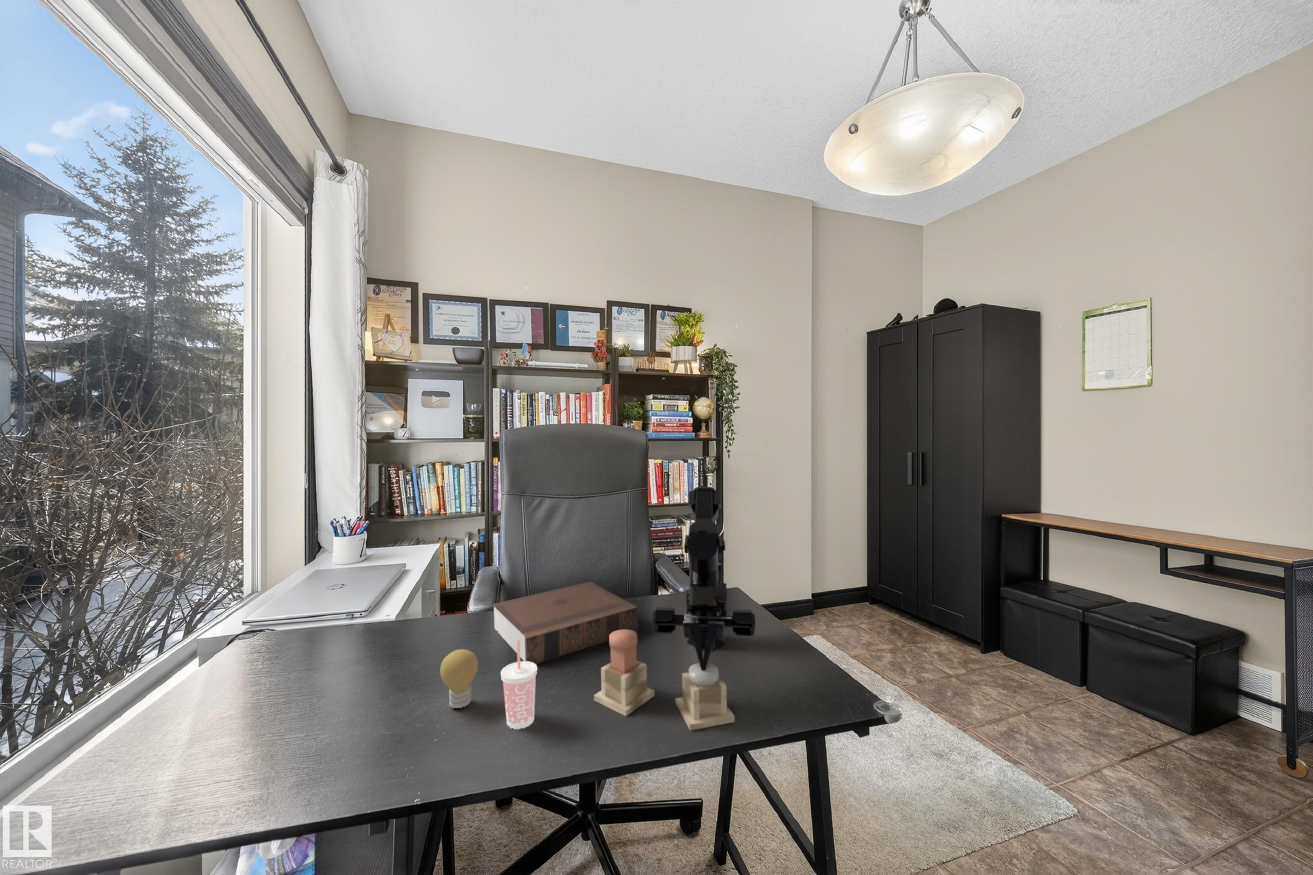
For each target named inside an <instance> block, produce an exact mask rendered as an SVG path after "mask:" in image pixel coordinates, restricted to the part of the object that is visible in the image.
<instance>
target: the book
mask: <svg viewBox="0 0 1313 875" xmlns="http://www.w3.org/2000/svg"><path fill="white" fill-rule="evenodd" d="M491 605H492V606H493V621H494V622H493V623H494V625H493V626H494V629H495V630H496V632H497V631H498V632H497V633H498V634H499V635H500V636H501V637H502V639H503V640H504V641H505V642H506V643H507V644H508V645H509V646H510V648H512V650H513V651H514V652H515V653H516V654H517V641H520V659H521V660H522V661H528V662H533V663H534V664H536V665H537V664H539V663H542V662H545V661H549V660H552V659H555V658H558V657H561V656H565V655H568V654H571V653H574V652H578V651H581V650H584V649H587V648H589V647H594V646H596V645H599V644H602V643H606V642H609V635H610V634H611V633H612V632H614V631H617V630H632V631H634V632H636V633H637V632H638V631H639V630H638V628H639V627H638V606H636V605H635V604H632V603H631V602H629V601H627V600H625V599H624V598H622V597H619V596H618V595H616V594H614V593H613V592H611V591H609V590H607V589H605V588H603V587H601V586H599V585H598V584H596V583H595V582H592V581H587V582H582V583H578V584H575V585H570V586H565V587H561V588H557V589H552V590H548V591H543V592H538V593H534V594H531V595H526V596H522V597H518V598H513V599H509V600H504V601H500V602H496V603H492V604H491Z"/></svg>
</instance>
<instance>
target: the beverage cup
mask: <svg viewBox="0 0 1313 875" xmlns="http://www.w3.org/2000/svg"><path fill="white" fill-rule="evenodd" d="M516 658H517V661H516V662H515V661H514V662H512V663H509V664H507V665H505V667H502V669H501V670H500V679H501V681H502V683H503V684H502V685H503V698H504V707H505V716H506V718H505V719H506V726H507V725H508V726H509V727H510V728H509V727H508V726H507V727H508V728H509V729H512V728H513V729H512V730H521V728H522V729H526V728H527V727H530V725H532V724H533V723H534V720H535V708H536V706H535V705H536V679H537V678H536V676H537V674H538V672H537V671H538V666H537V664H534V663H533V662H528V661H524V660H522V661H521V657H520V641H517V653H516Z"/></svg>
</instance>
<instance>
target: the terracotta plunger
mask: <svg viewBox="0 0 1313 875" xmlns="http://www.w3.org/2000/svg"><path fill="white" fill-rule="evenodd" d="M608 643H609V647H610V663H611V669H614V670H616V671H618V672H621V673H623V674H626V673H627V672H629V671H630V670H632V669H634V668H635V667H637V661H638V659H637V646H638V633H637V632H634V631H632V630H617V631H614V632H612V633H611V634H610V635H609V641H608Z"/></svg>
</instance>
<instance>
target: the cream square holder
mask: <svg viewBox="0 0 1313 875" xmlns="http://www.w3.org/2000/svg"><path fill="white" fill-rule="evenodd" d="M647 670H648V666H647V664H646V663H643V662H641V661H639V660H637V667H635V668H634V669H632V670H630V671H629V672H627V673H626V674H623V673H621V672H618V671H616V670H614V669H611V662H609V663H607V664H605V665H604V666H602V667H600V683H601V690H599V691H598V692H597V693H595V694H594V695H593V701H594V702H596V703H598V704H600V705H602V706H604V707H607V708H609V709H610V710H613V711H615V712H617V713H619V714H620V715H623V716H624V717H627V716H628V715H630V714H631V713H633V712H634V711H635V710H636V709H639V707H641V706H642V705H644V704H645V703H646V702H648V701H649V700H650V699H652V698H653V697H655V695H656V694H655V693H656V692H655V689H653V688H651V687H648V677H647V676H648V671H647Z"/></svg>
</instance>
